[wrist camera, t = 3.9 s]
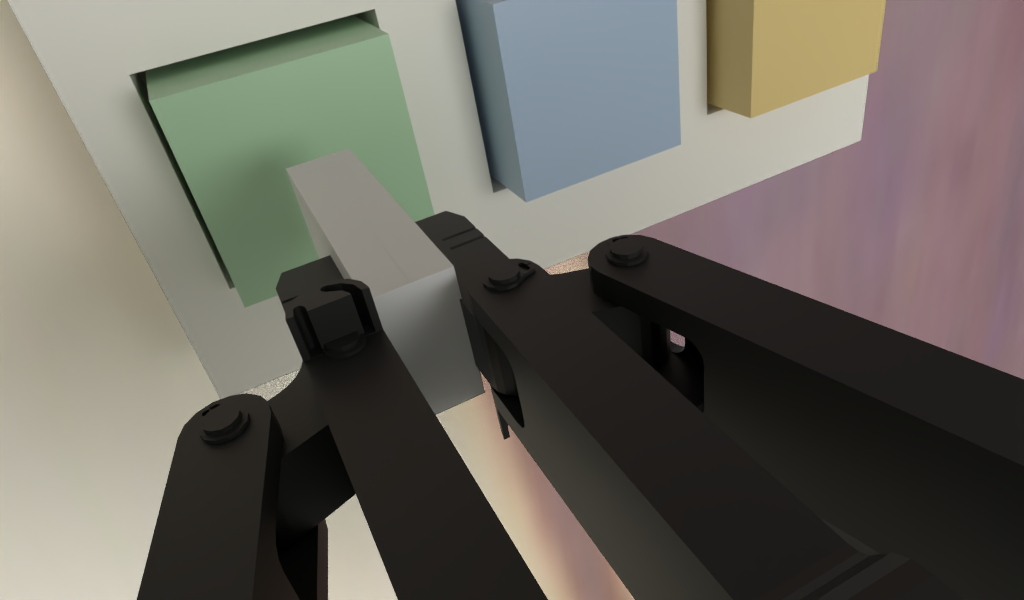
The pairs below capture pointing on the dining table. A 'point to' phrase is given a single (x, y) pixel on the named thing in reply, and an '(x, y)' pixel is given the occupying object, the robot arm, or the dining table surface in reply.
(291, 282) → the robot arm
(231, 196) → the key sage
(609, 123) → the key blue
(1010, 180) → the dining table surface
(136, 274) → the dining table surface
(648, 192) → the key panel
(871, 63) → the key ochre
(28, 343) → the dining table surface
